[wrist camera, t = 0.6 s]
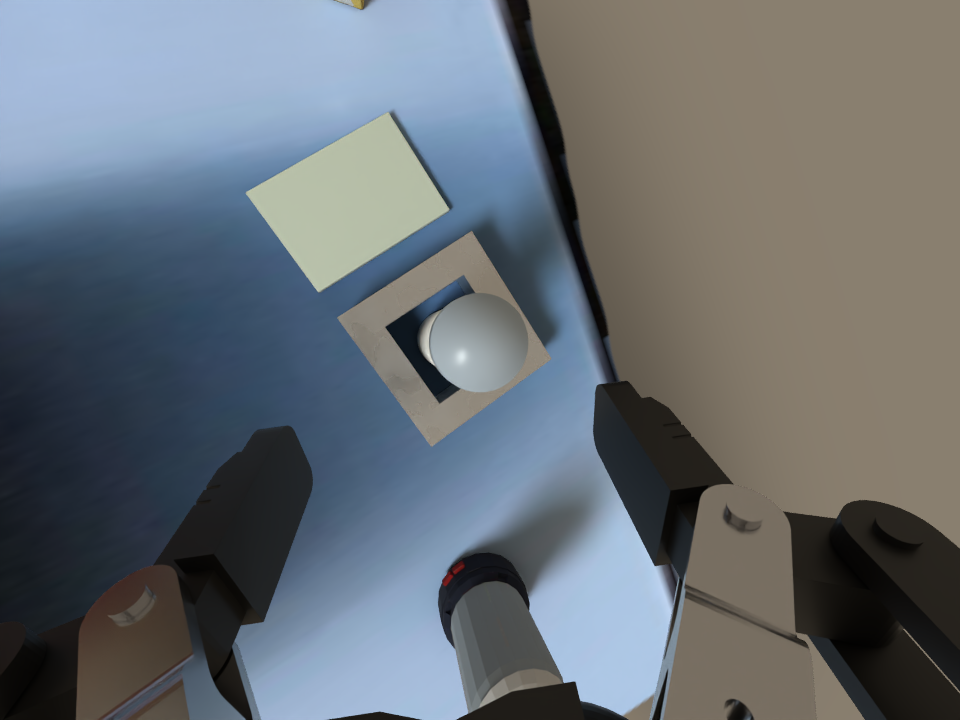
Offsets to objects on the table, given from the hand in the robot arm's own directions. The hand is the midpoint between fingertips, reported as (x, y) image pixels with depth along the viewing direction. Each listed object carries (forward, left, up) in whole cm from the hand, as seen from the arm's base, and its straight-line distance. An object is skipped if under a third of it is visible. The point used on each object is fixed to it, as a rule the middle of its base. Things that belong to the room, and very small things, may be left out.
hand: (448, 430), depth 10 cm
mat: (-13, +4, -24) cm, 28 cm away
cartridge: (0, +4, -24) cm, 25 cm away
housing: (0, +4, -24) cm, 25 cm away
